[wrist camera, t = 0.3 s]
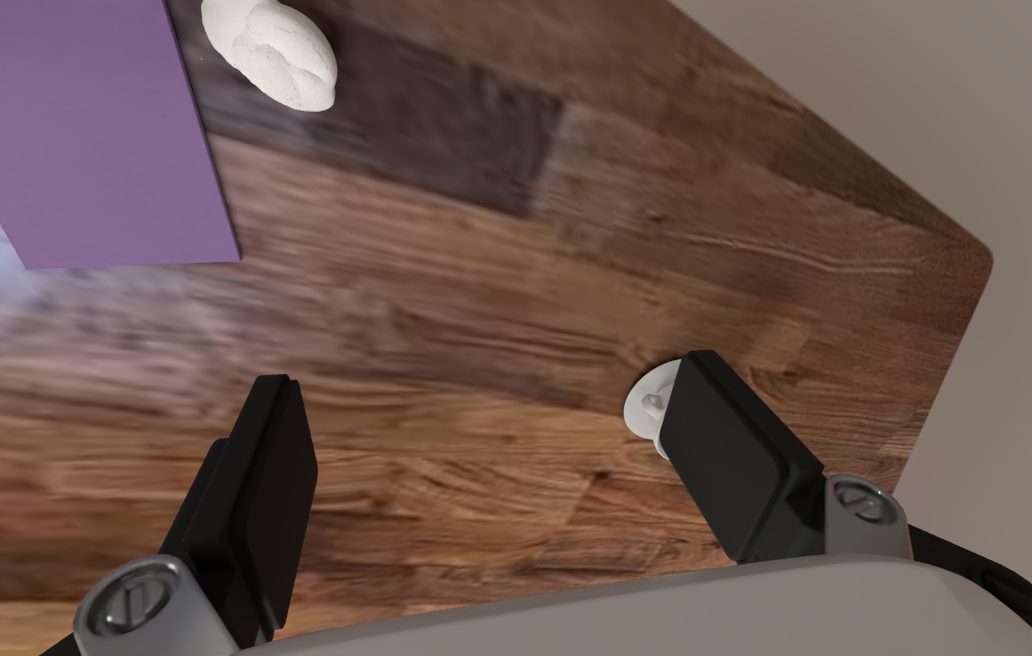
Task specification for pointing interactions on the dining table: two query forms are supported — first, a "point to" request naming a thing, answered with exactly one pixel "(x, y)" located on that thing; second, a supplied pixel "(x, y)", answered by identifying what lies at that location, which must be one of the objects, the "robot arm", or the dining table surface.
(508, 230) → the dining table surface
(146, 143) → the cloth
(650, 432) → the teacup
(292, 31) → the dumpling
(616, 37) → the dining table surface
